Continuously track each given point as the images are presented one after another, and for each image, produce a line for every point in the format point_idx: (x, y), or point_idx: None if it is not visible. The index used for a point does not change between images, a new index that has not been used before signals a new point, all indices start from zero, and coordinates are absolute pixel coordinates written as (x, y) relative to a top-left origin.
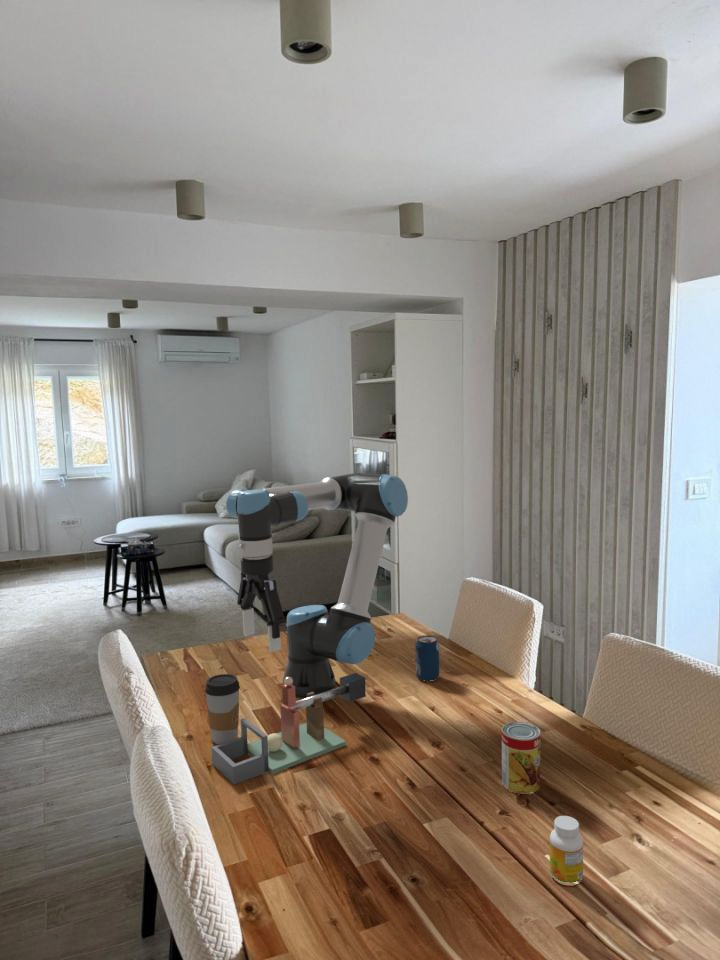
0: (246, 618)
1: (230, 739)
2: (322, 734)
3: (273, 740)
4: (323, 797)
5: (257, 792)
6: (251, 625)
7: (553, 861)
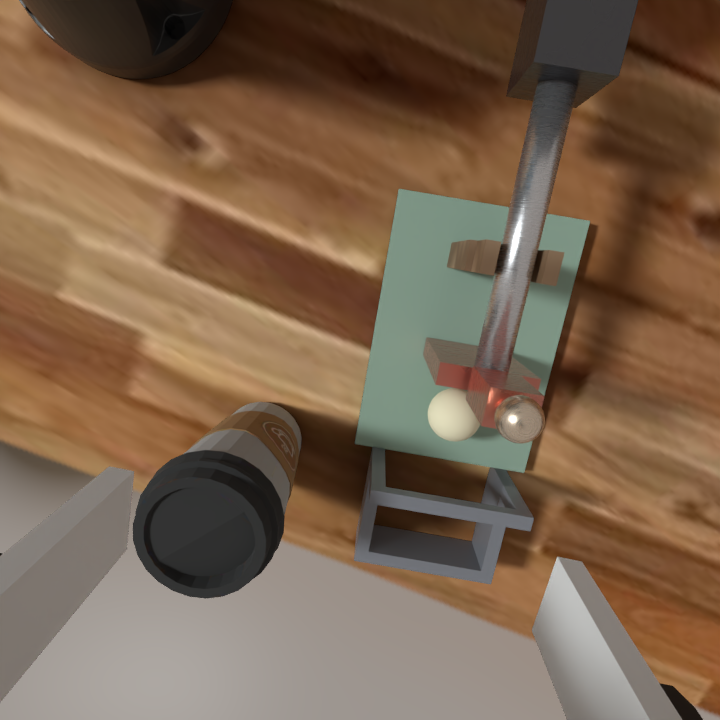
0: (22, 648)
1: (300, 447)
2: None
3: (472, 432)
4: (707, 454)
5: (552, 538)
6: (84, 543)
7: None
